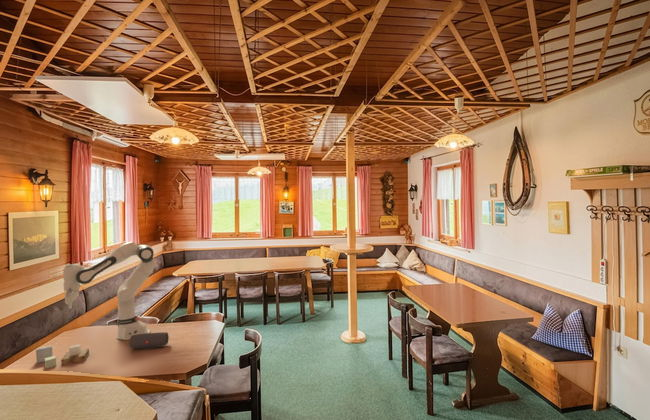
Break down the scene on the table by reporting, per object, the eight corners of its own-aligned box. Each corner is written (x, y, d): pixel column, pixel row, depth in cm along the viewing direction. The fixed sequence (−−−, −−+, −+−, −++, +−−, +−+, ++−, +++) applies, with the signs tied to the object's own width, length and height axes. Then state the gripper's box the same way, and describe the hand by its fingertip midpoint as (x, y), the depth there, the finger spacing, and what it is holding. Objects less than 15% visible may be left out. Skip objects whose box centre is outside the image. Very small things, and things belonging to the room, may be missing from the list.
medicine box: (52, 357, 218) (52, 344, 218) (52, 360, 215) (52, 346, 214) (36, 361, 213) (36, 348, 213) (36, 364, 210) (35, 350, 209)
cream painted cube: (80, 351, 218) (80, 344, 218) (79, 354, 214) (78, 346, 214) (71, 353, 216) (70, 345, 216) (69, 356, 211) (69, 348, 211)
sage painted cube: (55, 363, 210) (54, 355, 210) (56, 365, 206) (55, 358, 206) (44, 366, 206) (44, 358, 206) (45, 368, 203) (45, 360, 203)
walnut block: (89, 354, 223) (88, 348, 223) (84, 361, 212) (84, 355, 212) (67, 358, 218) (66, 352, 218) (61, 366, 207) (61, 359, 207)
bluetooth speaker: (129, 352, 223) (128, 337, 223) (134, 346, 232) (134, 332, 232) (164, 349, 226) (164, 334, 226) (169, 343, 236) (168, 329, 235)
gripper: (73, 289, 225) (73, 310, 225) (80, 283, 243) (81, 302, 243) (61, 291, 222) (62, 311, 222) (70, 284, 241) (71, 303, 241)
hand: (72, 306), depth 233 cm, fingers open, 8 cm apart
